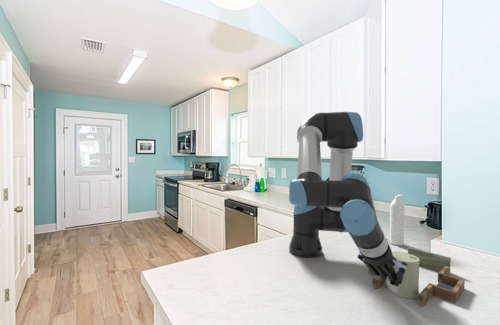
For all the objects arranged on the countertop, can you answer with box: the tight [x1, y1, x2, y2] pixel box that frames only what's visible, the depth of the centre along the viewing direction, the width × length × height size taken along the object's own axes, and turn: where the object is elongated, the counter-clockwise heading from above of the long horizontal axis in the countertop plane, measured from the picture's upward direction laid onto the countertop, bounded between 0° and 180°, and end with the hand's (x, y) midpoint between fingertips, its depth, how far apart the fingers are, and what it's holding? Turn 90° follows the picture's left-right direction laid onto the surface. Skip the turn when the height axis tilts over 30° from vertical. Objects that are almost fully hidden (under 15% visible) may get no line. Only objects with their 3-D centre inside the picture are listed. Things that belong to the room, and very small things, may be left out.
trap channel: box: [368, 246, 465, 307], centre depth 93 cm, size 35×26×6 cm
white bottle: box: [388, 194, 406, 246], centre depth 132 cm, size 9×6×25 cm
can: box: [386, 251, 420, 299], centre depth 85 cm, size 9×9×12 cm
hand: (395, 287), depth 79 cm, fingers closed
